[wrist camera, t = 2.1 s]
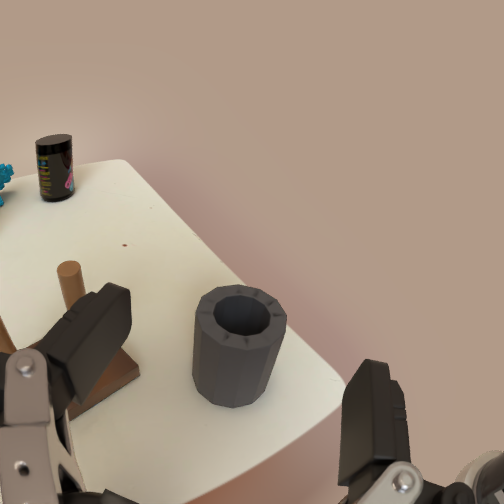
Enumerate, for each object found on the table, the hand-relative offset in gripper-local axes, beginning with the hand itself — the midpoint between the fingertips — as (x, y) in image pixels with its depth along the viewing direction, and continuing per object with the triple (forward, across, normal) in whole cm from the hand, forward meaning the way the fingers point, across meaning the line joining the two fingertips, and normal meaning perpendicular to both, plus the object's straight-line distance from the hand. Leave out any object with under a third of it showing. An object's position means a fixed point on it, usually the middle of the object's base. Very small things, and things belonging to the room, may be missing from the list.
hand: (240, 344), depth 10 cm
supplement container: (+33, +39, +16) cm, 54 cm away
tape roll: (+10, +1, +16) cm, 19 cm away
